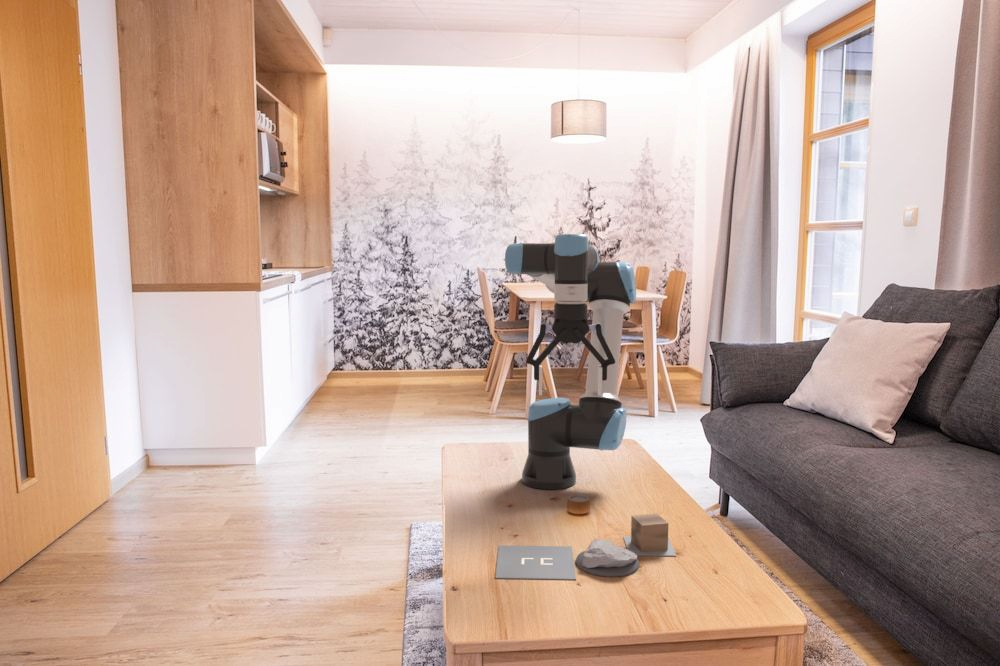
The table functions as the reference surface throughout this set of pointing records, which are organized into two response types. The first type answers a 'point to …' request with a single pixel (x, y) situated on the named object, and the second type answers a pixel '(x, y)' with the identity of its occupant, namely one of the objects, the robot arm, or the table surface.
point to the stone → (607, 555)
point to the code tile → (535, 562)
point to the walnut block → (649, 532)
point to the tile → (635, 550)
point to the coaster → (608, 571)
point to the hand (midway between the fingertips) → (570, 394)
